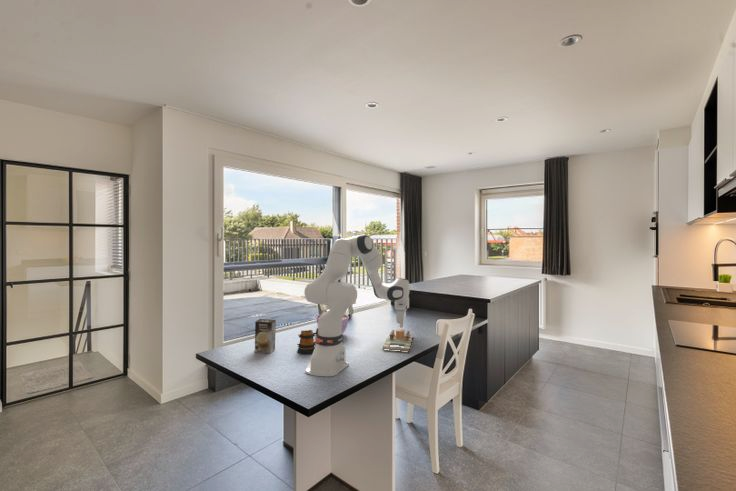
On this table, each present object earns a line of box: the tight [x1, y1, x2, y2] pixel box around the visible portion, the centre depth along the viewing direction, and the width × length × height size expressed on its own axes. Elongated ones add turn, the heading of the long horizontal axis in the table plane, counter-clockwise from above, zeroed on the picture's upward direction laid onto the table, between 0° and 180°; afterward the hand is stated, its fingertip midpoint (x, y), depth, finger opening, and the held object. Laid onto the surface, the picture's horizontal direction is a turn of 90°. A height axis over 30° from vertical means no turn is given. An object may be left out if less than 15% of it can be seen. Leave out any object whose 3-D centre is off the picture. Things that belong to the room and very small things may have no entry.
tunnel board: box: [382, 329, 414, 352], centre depth 193 cm, size 28×14×5 cm, turn 168°
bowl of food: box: [315, 313, 350, 335], centre depth 207 cm, size 20×20×12 cm
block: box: [395, 328, 405, 339], centre depth 199 cm, size 4×4×4 cm
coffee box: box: [254, 318, 277, 354], centre depth 177 cm, size 9×6×16 cm
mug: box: [296, 327, 318, 356], centre depth 178 cm, size 13×10×12 cm
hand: (401, 326), depth 207 cm, fingers closed
